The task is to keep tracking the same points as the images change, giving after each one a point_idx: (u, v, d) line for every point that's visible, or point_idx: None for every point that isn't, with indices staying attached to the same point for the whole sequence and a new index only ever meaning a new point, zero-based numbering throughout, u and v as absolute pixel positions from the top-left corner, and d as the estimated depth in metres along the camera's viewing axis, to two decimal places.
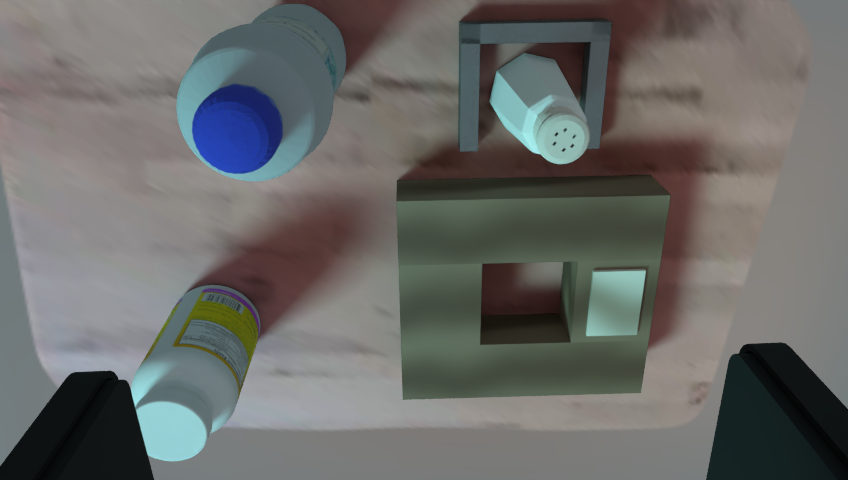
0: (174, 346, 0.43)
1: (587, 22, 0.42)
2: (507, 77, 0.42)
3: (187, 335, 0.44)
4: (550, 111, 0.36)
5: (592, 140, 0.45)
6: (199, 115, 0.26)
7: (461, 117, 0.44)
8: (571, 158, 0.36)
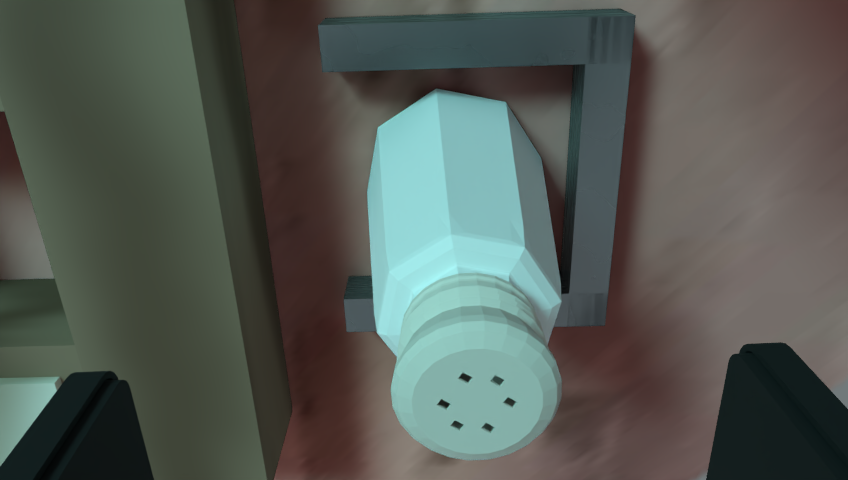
0: None
1: (606, 282, 0.21)
2: (513, 136, 0.18)
3: None
4: (540, 328, 0.12)
5: (363, 317, 0.21)
6: None
7: (407, 25, 0.17)
8: (415, 426, 0.11)
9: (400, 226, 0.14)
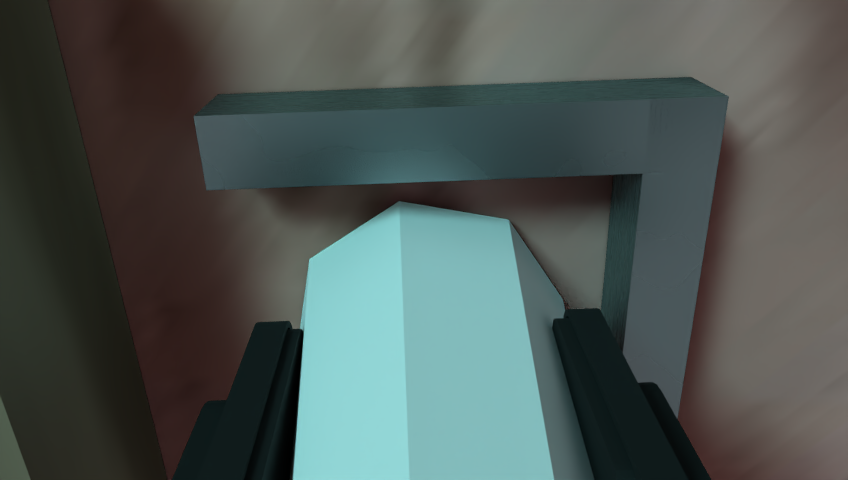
0: None
1: None
2: (527, 297, 0.11)
3: None
4: None
5: None
6: None
7: (346, 115, 0.10)
8: None
9: None
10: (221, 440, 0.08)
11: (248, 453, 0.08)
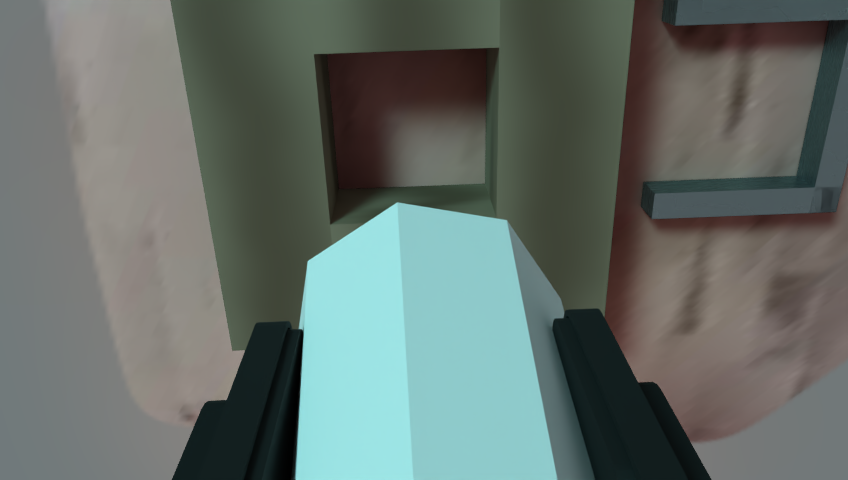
0: None
1: (841, 178, 0.29)
2: (526, 298, 0.11)
3: None
4: None
5: (666, 207, 0.30)
6: None
7: None
8: None
9: None
10: (221, 440, 0.08)
11: (248, 453, 0.08)
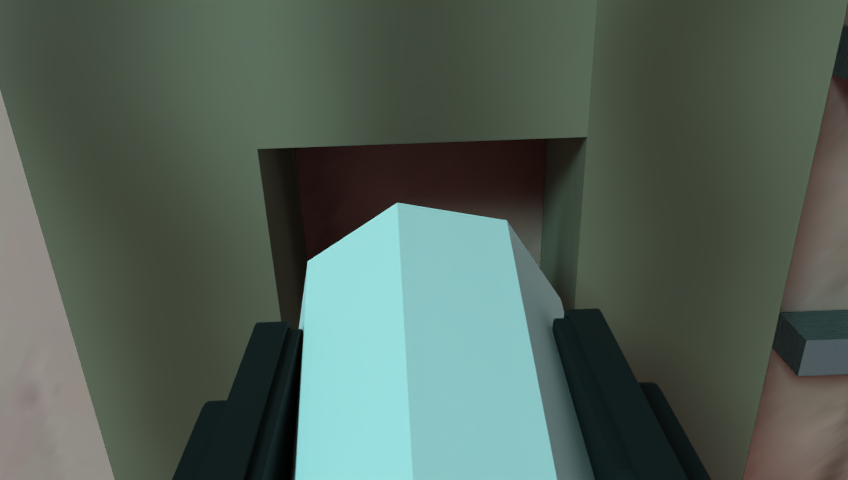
0: None
1: None
2: (526, 298, 0.11)
3: None
4: None
5: (822, 360, 0.19)
6: None
7: None
8: None
9: None
10: (221, 440, 0.08)
11: (248, 454, 0.08)
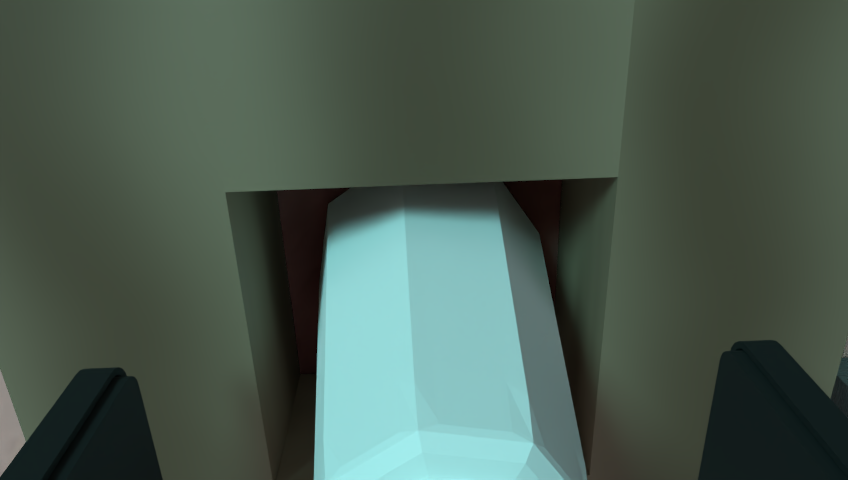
0: None
1: None
2: (504, 220, 0.13)
3: None
4: None
5: None
6: None
7: None
8: None
9: (345, 392, 0.09)
10: None
11: None
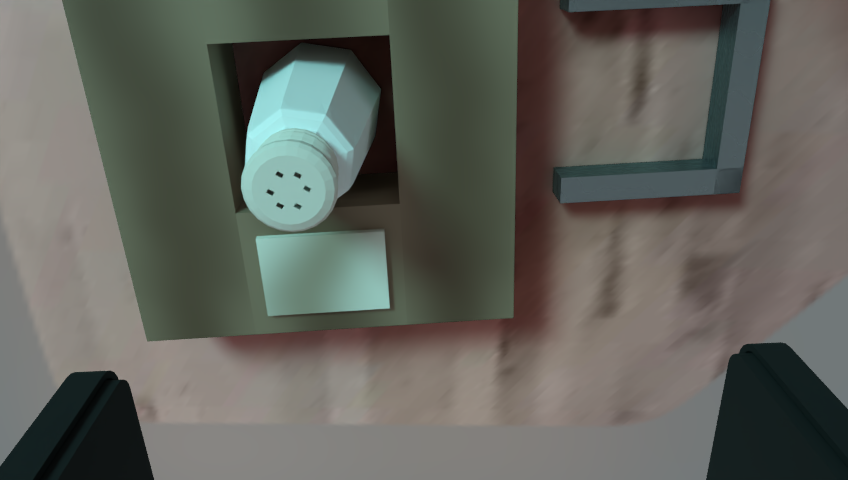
0: None
1: (742, 160, 0.30)
2: (348, 68, 0.26)
3: None
4: (330, 155, 0.20)
5: (573, 191, 0.30)
6: None
7: None
8: (256, 208, 0.20)
9: (258, 114, 0.23)
10: None
11: None
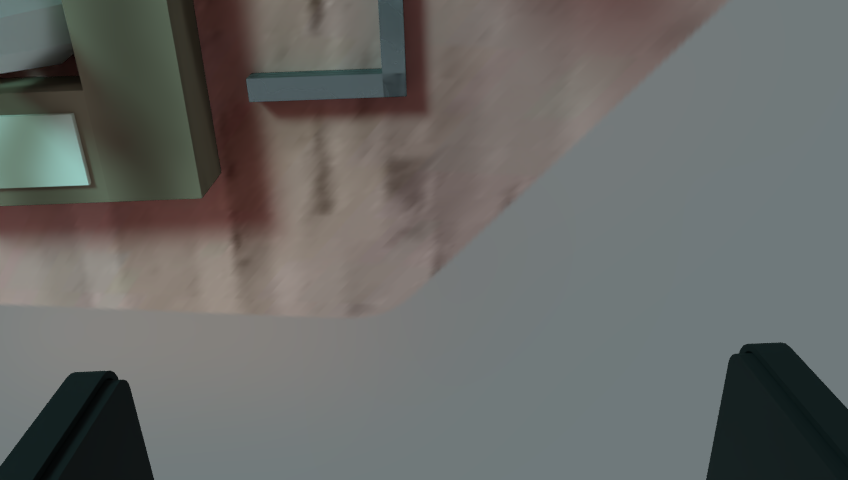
0: None
1: (404, 66, 0.35)
2: None
3: None
4: None
5: (259, 91, 0.35)
6: None
7: None
8: None
9: None
10: None
11: None
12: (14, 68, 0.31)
